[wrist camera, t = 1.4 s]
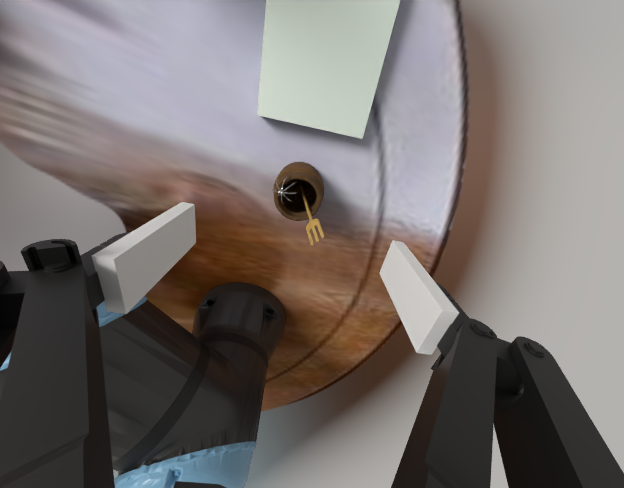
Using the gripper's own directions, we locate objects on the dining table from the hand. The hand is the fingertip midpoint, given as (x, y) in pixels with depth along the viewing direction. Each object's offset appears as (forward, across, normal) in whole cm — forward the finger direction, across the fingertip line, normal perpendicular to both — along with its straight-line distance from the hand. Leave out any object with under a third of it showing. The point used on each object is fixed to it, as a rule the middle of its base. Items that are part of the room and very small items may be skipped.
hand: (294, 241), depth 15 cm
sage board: (+17, 0, -14) cm, 22 cm away
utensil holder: (+17, 0, 0) cm, 17 cm away
